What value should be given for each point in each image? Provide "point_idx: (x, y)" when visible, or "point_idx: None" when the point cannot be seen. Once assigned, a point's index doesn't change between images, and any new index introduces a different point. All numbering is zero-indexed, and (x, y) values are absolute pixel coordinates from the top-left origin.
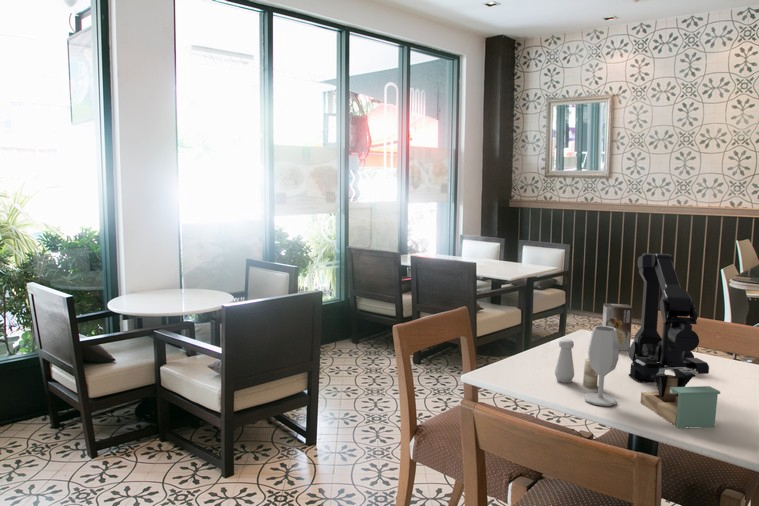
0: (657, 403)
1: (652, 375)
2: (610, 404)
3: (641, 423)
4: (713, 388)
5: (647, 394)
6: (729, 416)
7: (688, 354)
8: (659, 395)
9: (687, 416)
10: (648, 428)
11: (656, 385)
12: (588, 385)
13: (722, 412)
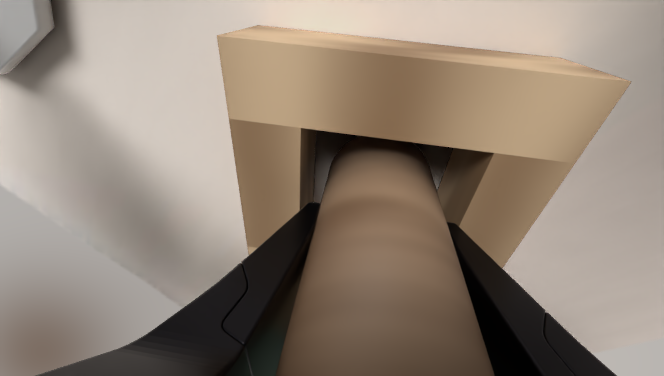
0: (249, 244)
1: (113, 354)
2: (5, 69)
3: (159, 255)
4: None
5: (254, 107)
6: (613, 299)
7: None
8: (306, 205)
9: None
10: (172, 283)
11: (252, 253)
12: None
13: (651, 266)
